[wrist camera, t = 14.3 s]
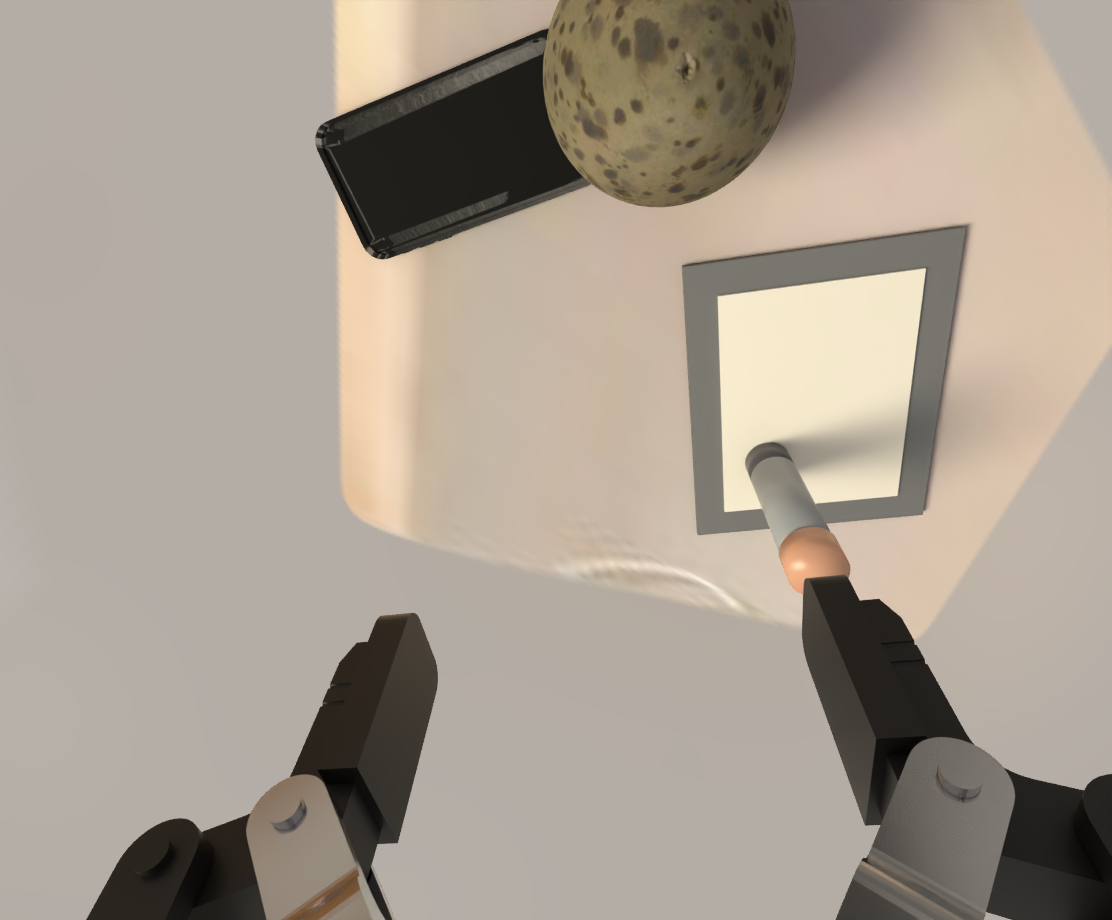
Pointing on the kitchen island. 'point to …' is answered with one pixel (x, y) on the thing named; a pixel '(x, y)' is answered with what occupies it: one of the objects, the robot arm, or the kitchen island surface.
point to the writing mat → (820, 373)
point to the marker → (793, 517)
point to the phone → (448, 152)
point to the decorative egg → (666, 91)
